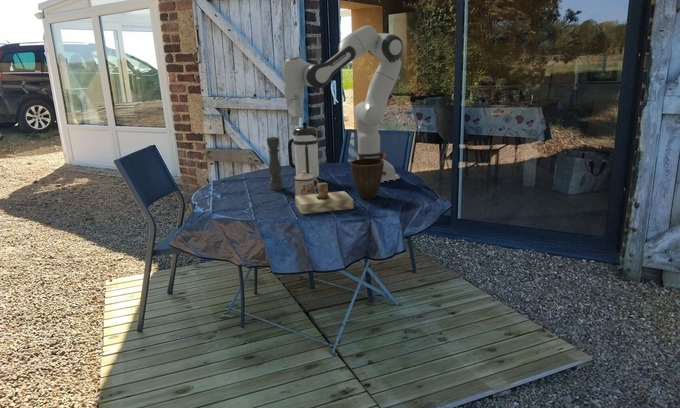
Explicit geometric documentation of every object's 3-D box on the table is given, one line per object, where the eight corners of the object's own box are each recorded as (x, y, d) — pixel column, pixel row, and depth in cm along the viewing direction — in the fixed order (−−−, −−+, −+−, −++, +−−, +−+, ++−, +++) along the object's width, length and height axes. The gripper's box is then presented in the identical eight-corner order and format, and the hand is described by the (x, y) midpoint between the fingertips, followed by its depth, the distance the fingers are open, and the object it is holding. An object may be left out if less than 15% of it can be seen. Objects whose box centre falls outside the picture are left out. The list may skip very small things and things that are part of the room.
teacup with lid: (301, 200, 218) (300, 174, 214) (291, 196, 225) (290, 171, 222) (324, 195, 224) (323, 170, 221) (313, 191, 232) (312, 167, 228)
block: (344, 199, 216) (344, 191, 215) (353, 208, 203) (353, 199, 202) (295, 204, 211) (294, 195, 210) (301, 214, 198) (300, 204, 196)
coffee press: (322, 175, 263) (319, 119, 255) (321, 182, 248) (319, 123, 240) (289, 176, 263) (286, 120, 255) (287, 183, 248) (283, 124, 239)
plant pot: (362, 203, 210) (361, 166, 205) (345, 195, 222) (343, 161, 218) (390, 197, 216) (390, 162, 212) (372, 190, 229) (372, 157, 224)
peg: (327, 204, 209) (326, 182, 206) (329, 207, 205) (328, 184, 203) (318, 205, 208) (317, 183, 205) (320, 208, 204) (319, 185, 202)
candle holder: (280, 190, 236) (276, 138, 229) (268, 189, 237) (264, 138, 230) (284, 186, 242) (281, 136, 235) (272, 186, 243) (268, 136, 236)
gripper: (305, 95, 211) (307, 128, 215) (297, 93, 230) (299, 123, 234) (291, 96, 209) (293, 128, 213) (284, 94, 228) (286, 123, 232)
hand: (296, 125), depth 224 cm, fingers closed
